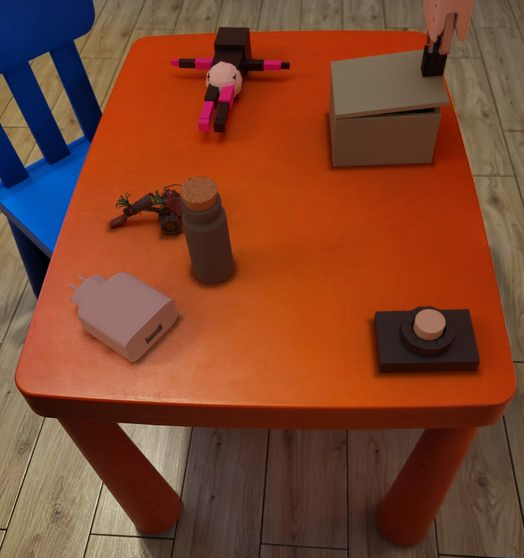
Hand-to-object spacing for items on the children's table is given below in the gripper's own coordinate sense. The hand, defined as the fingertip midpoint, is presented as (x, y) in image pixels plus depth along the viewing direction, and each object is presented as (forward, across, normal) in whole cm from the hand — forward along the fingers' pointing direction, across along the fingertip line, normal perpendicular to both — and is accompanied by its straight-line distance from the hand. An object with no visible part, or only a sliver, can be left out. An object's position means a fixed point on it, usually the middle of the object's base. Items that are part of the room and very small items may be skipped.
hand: (431, 72), depth 92 cm
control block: (+11, -42, +5) cm, 43 cm away
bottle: (+11, -28, +33) cm, 44 cm away
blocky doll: (+12, +12, +33) cm, 37 cm away
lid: (+2, 0, +7) cm, 7 cm away
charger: (+11, -36, +46) cm, 59 cm away
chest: (+11, 0, +7) cm, 13 cm away
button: (+7, -42, +5) cm, 43 cm away
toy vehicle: (+11, -18, +42) cm, 47 cm away
